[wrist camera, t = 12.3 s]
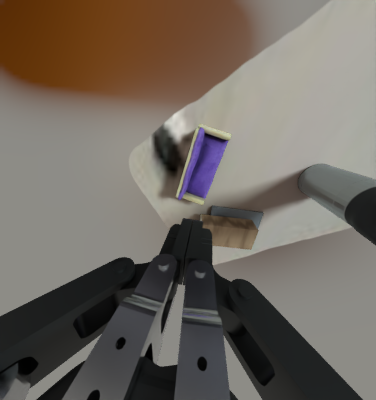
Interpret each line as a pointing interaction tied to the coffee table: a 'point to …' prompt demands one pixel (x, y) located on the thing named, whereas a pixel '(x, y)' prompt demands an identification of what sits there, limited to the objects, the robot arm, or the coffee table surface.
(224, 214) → the mat
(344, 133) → the coffee table surface
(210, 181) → the toy sofa
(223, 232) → the walnut block
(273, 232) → the coffee table surface
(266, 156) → the coffee table surface
